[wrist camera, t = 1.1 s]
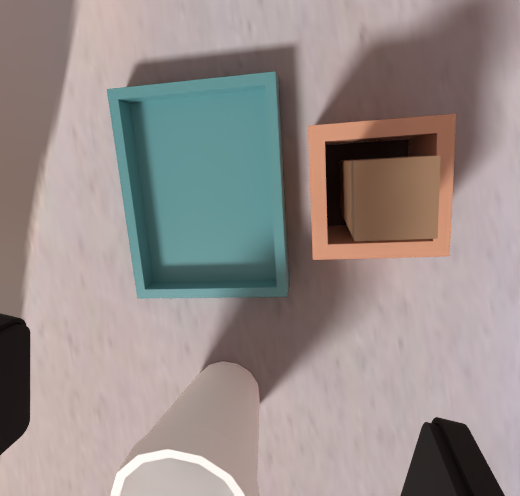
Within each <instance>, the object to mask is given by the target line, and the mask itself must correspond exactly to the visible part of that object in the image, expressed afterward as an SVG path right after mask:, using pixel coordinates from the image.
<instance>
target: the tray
mask: <svg viewBox="0 0 520 496" xmlns="http://www.w3.org/2000/svg"><path fill="white" fill-rule="evenodd" d="M107 93H108V100H109V107H110V114H111V121H112V128H113V135H114V141H115V148H116V155H117V162H118V169H119V176H120V182H121V189H122V196H123V203H124V210H125V217H126V223H127V230H128V237H129V244H130V251H131V258H132V265H133V271H134V278H135V285H136V292H137V298H222V297H287V295H288V291H289V270H288V251H287V231H286V211H285V192H284V172H283V153H282V133H281V113H280V94H279V78H278V76H277V74H276V72H265V73H256V74H246V75H237V76H227V77H218V78H208V79H199V80H190V81H180V82H171V83H161V84H152V85H142V86H133V87H123V88H114V89H107Z"/></svg>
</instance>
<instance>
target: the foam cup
mask: <svg viewBox="0 0 520 496" xmlns="http://www.w3.org/2000/svg"><path fill="white" fill-rule="evenodd" d="M259 398H260V396H259V388H258V383H257V382H256V380H255V379H254V377H253V376H252V374H251V373H250V372H249V371H248V370H246V369H245V368H243V367H242V366H240V365H239V364H236V363H230V362H225V361H222V362H218V363H214V364H210V365H208V366H207V367H206V368H205V369H204V370H203V371H202V372H200V374H199V375H198V376H197V377H196V378H195V379H194V380H193V381H192V383H191V384H190V385H189V386H188V387H187V389H186V390H185V391H184V392H183V393H182V394H181V396H180V397H179V398H178V399H177V400H176V401H175V403H174V404H173V405H172V406H171V407H170V409H169V410H168V411H167V412H166V413H165V414H164V416H163V417H162V418H161V419H160V420H159V421H158V423H157V424H156V425H155V426H154V427H153V429H152V430H151V431H150V432H149V433H148V434H147V435H146V436H145V437H144V438H142V439H141V440H140V441H139V442H138V443H137V444H135V445H134V447H133V448H132V450H131V452H130V453H129V455H128V456H127V458H126V459H125V461H124V463H123V464H122V466H121V467H120V469H119V470H118V472H117V475H116V478H115V481H114V485H113V488H112V491H111V495H110V496H259V490H258V483H257V469H258V439H259V408H260V400H259Z"/></svg>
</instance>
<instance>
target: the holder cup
mask: <svg viewBox="0 0 520 496" xmlns="http://www.w3.org/2000/svg"><path fill="white" fill-rule="evenodd" d="M455 132H456V114H445V115H433V116H420V117H408V118H396V119H384V120H372V121H359V122H347V123H335V124H323V125H310V126H308V141H309V169H310V197H311V225H312V253H313V260H325V259H364V258H402V257H441V256H450V238H451V217H452V196H453V174H454V153H455ZM405 139H409V157H410V156H441V163H440V189H439V214H438V239H409V240H379V241H354V239H353V237H352V235H351V233H350V230H349V228H348V226H347V225H342V226H327V199H326V162H325V145H336V144H350V143H364V142H377V141H391V140H405Z"/></svg>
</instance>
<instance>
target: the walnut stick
mask: <svg viewBox="0 0 520 496" xmlns="http://www.w3.org/2000/svg"><path fill="white" fill-rule="evenodd" d="M440 163H441V156H410V157H385V158H370V159H355V160H340V161H339V165H340V211H341V213H342V215H343V217H344V220H345V222H346V224H347V226H348V228H349V230H350V233H351V235H352V237H353V239H354V241H379V240H409V239H438V214H439V189H440Z"/></svg>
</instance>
